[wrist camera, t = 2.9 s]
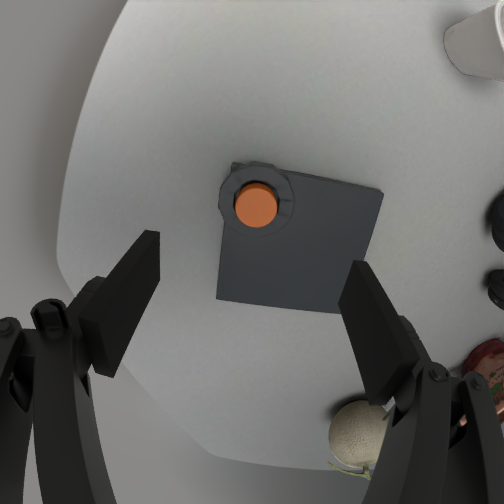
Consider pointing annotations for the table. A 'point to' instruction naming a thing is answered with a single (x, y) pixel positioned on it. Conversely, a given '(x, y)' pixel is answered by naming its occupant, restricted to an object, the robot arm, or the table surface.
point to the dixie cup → (478, 43)
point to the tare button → (256, 205)
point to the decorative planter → (489, 371)
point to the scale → (294, 239)
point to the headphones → (500, 288)
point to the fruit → (357, 435)
